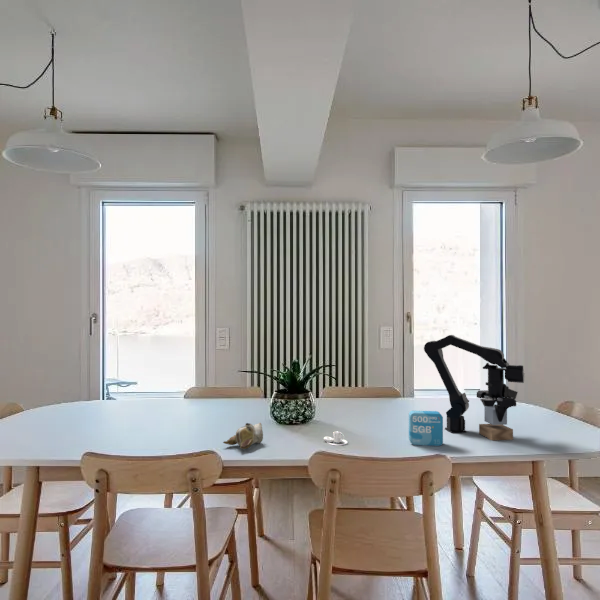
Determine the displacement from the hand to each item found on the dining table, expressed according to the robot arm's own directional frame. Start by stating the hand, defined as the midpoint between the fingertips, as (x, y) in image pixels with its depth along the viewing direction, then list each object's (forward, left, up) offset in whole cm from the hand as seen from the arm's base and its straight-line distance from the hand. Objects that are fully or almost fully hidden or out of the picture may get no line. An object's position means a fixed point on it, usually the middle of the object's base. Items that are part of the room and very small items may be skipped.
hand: (495, 419), depth 179 cm
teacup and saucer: (-65, +5, -7) cm, 65 cm away
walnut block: (0, 0, -7) cm, 7 cm away
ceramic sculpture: (-99, +1, -7) cm, 99 cm away
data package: (-32, -5, -7) cm, 33 cm away
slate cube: (0, 0, -1) cm, 1 cm away
